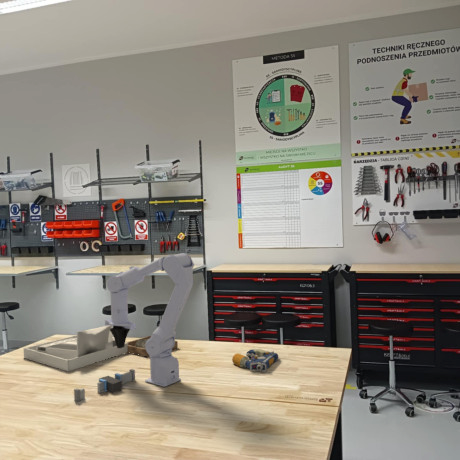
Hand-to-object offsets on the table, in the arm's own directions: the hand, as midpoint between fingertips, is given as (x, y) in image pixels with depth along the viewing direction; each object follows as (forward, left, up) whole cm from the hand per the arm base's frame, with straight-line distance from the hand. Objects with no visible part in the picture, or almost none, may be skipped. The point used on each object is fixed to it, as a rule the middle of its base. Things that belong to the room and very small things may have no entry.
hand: (120, 347), depth 159 cm
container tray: (+36, -6, -10) cm, 38 cm away
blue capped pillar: (-7, +12, -10) cm, 17 cm away
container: (+35, -7, -10) cm, 37 cm away
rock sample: (+13, -26, -10) cm, 31 cm away
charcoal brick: (-7, +10, -10) cm, 16 cm away
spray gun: (-32, -36, -10) cm, 50 cm away
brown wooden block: (+16, -28, -10) cm, 34 cm away
